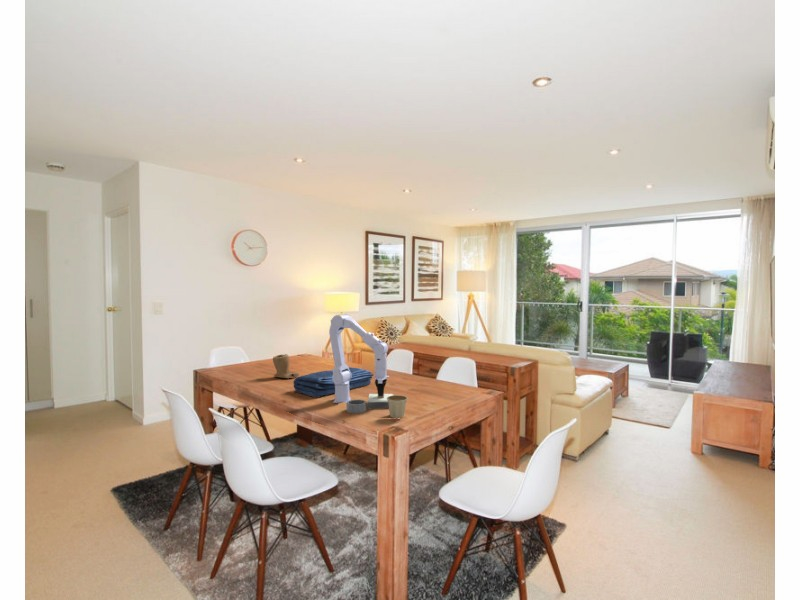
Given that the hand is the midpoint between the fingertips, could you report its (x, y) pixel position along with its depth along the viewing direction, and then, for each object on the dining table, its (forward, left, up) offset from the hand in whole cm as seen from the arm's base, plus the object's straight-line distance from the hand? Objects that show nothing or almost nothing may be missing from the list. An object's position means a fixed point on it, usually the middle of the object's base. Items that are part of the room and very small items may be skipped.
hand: (380, 394), depth 207 cm
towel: (-36, -28, -6) cm, 47 cm away
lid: (0, 0, -2) cm, 2 cm away
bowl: (+10, -11, -5) cm, 16 cm away
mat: (0, 0, -5) cm, 5 cm away
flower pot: (+18, +8, -6) cm, 20 cm away
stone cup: (-63, -64, -6) cm, 90 cm away
